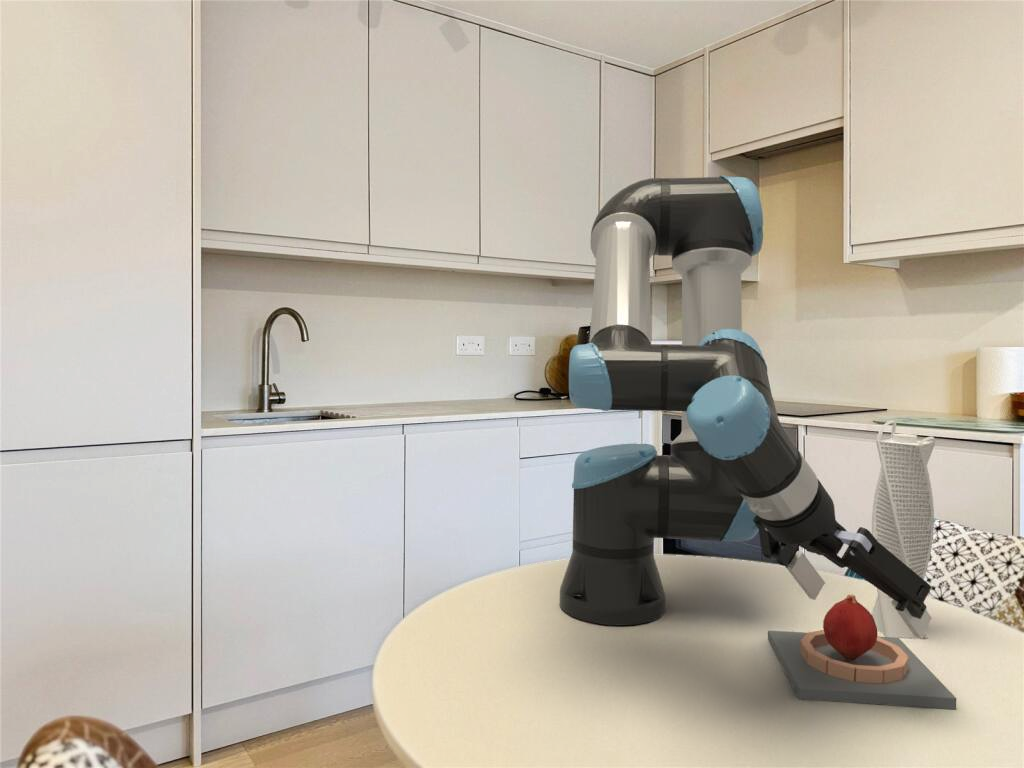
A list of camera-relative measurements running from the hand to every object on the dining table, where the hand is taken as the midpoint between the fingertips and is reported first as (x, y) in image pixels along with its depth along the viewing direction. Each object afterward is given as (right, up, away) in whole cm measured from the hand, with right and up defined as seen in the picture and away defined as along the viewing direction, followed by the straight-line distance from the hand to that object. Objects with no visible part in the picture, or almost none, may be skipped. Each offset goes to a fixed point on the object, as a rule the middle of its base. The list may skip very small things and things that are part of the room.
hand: (867, 607), depth 89 cm
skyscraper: (+10, -7, +12) cm, 17 cm away
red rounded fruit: (-2, -6, 0) cm, 7 cm away
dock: (-2, -7, -1) cm, 8 cm away
